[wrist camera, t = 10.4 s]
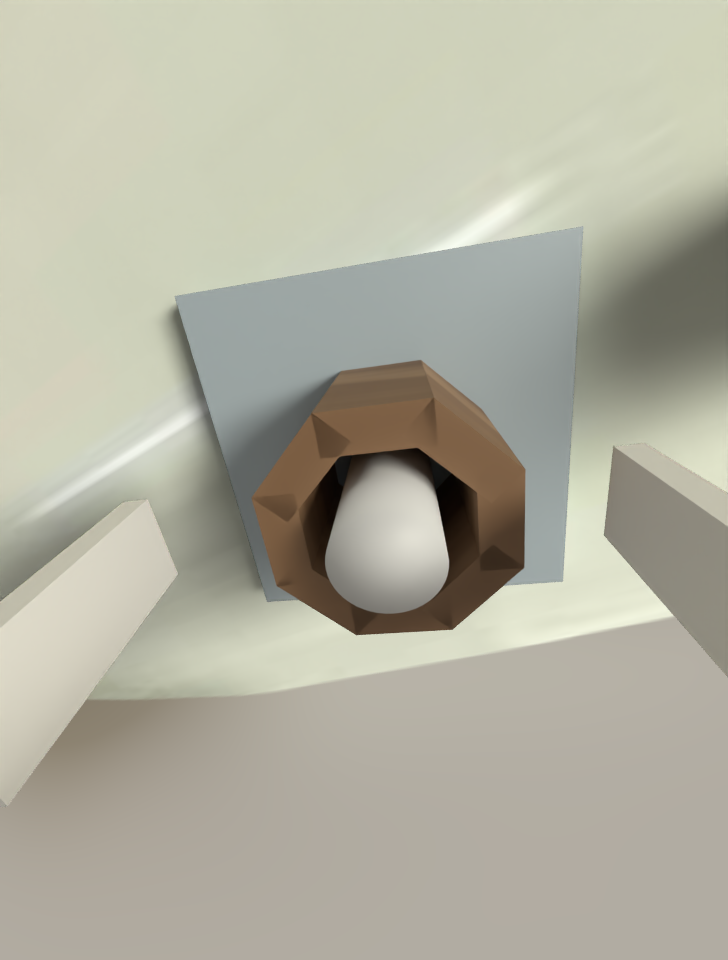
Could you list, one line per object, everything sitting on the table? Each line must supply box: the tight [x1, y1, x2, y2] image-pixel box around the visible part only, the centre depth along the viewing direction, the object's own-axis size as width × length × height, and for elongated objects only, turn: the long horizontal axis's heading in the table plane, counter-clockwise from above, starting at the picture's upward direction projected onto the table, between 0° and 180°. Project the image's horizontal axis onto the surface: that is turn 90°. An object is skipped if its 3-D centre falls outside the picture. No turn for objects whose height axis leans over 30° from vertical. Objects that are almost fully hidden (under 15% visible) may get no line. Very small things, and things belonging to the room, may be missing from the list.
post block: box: [175, 226, 583, 614], centre depth 14 cm, size 14×14×9 cm
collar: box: [251, 360, 526, 635], centre depth 14 cm, size 7×7×6 cm
